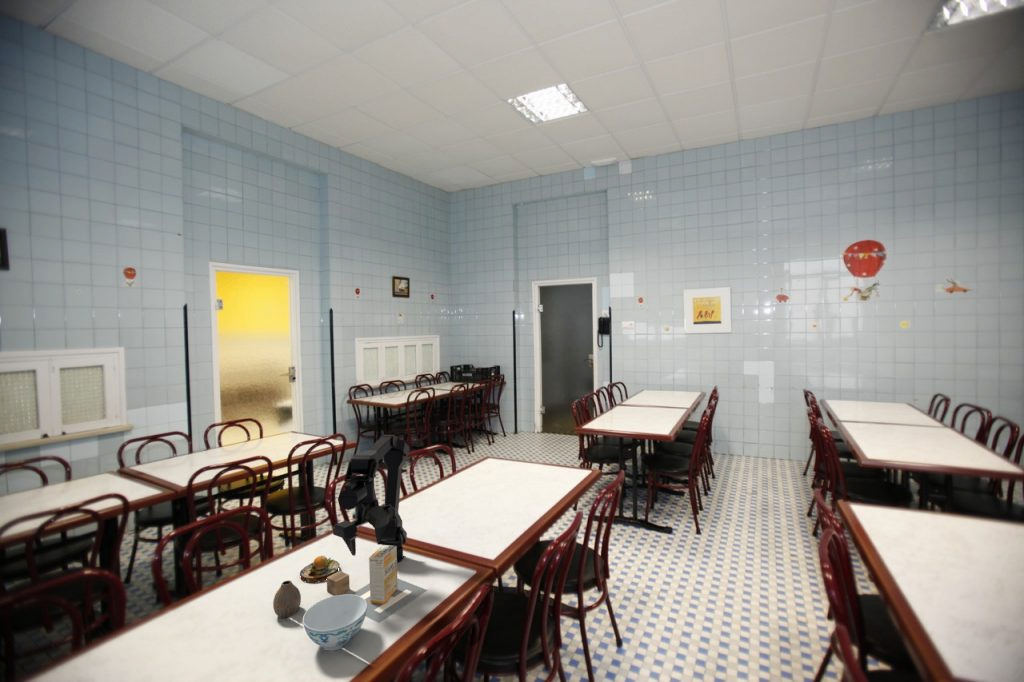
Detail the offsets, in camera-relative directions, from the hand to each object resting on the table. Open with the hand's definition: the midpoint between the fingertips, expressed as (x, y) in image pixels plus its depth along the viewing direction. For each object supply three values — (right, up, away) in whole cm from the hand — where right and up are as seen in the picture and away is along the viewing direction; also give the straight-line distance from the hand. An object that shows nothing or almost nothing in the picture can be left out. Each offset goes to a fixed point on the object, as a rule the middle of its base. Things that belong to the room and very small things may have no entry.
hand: (366, 548), depth 138 cm
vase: (-19, -14, -10) cm, 25 cm away
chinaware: (-1, -14, -22) cm, 26 cm away
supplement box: (+6, -12, -3) cm, 14 cm away
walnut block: (-8, -13, 0) cm, 16 cm away
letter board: (+6, -13, -3) cm, 14 cm away
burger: (-19, -14, +12) cm, 26 cm away
